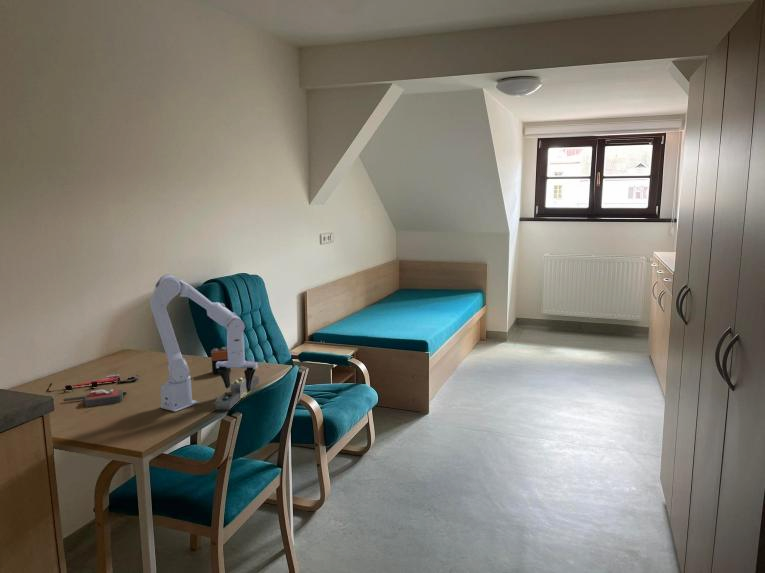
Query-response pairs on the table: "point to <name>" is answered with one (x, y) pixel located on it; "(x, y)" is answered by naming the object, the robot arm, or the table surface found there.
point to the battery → (218, 357)
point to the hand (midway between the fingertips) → (238, 387)
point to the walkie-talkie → (100, 397)
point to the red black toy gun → (102, 381)
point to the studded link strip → (233, 396)
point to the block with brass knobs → (239, 386)
